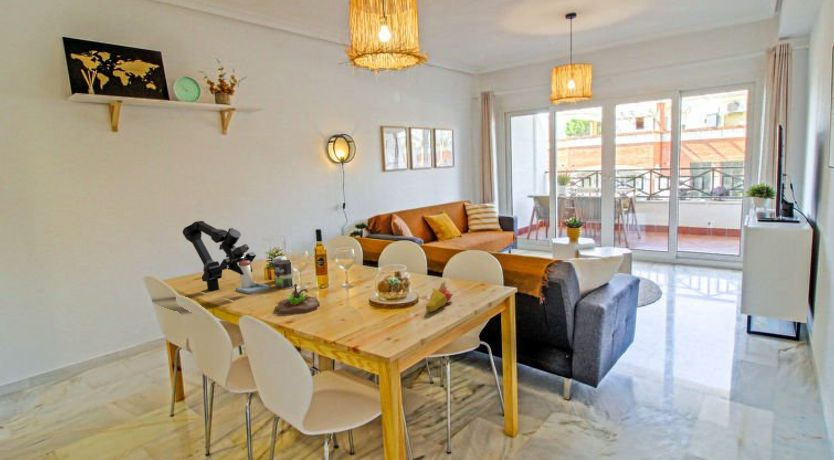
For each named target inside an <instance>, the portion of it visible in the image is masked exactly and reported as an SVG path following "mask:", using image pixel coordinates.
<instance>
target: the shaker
mask: <svg viewBox="0 0 834 460" xmlns="http://www.w3.org/2000/svg"><path fill="white" fill-rule="evenodd" d="M238 266H239V267H240V269H241V270H242V272H243V275H241V274H239V275H240V284H241V285H240V287H241V286H242V287H248V286H252V282H253V277H252V272H251V268H250V261H249V260H245V261H240V262H238Z"/></svg>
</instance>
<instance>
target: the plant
mask: <svg viewBox="0 0 834 460" xmlns="http://www.w3.org/2000/svg"><path fill="white" fill-rule="evenodd" d="M297 287H298V284H297V283H294V286H293V288H294V290H293V291H292V293H291V295H290V294H287V298H285V299H283V300H280V301H279V302H278V303H277V305H276V306H274V307H275V308H274V311H275V310H276V311H275V313H276V312H278V313H277V314H278V315H279V314H290V315H296V314H295V313H297V314H306V313H307V314H308V313H310V312H314V311H317V310H318V308H319V307H320V306H321V304H320V301H319V299H318V298H317V297H315V296H309V295H308V293H309V290H308V289H307V288H306V289H300V291H299V292H298V290H297ZM303 291H304V292H305V293H306V294H305V295H304V292H303ZM302 292H303V293H302Z"/></svg>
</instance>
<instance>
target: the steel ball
mask: <svg viewBox="0 0 834 460" xmlns="http://www.w3.org/2000/svg"><path fill="white" fill-rule="evenodd" d="M257 283H258V282H257V281H255V280H252V286H253V287H255V286H256V285H257Z"/></svg>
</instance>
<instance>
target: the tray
mask: <svg viewBox="0 0 834 460" xmlns="http://www.w3.org/2000/svg"><path fill="white" fill-rule="evenodd" d="M270 289H272V286H271V285H269V284H265V283H259V282H257V285H256V286H255V287H253V286H248V287H242V286H241V285H240V286H237V287H235V291H237V292H239V293H245V294H249V295H253V294H256V293H260V292H264V291H267V290H270Z"/></svg>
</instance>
